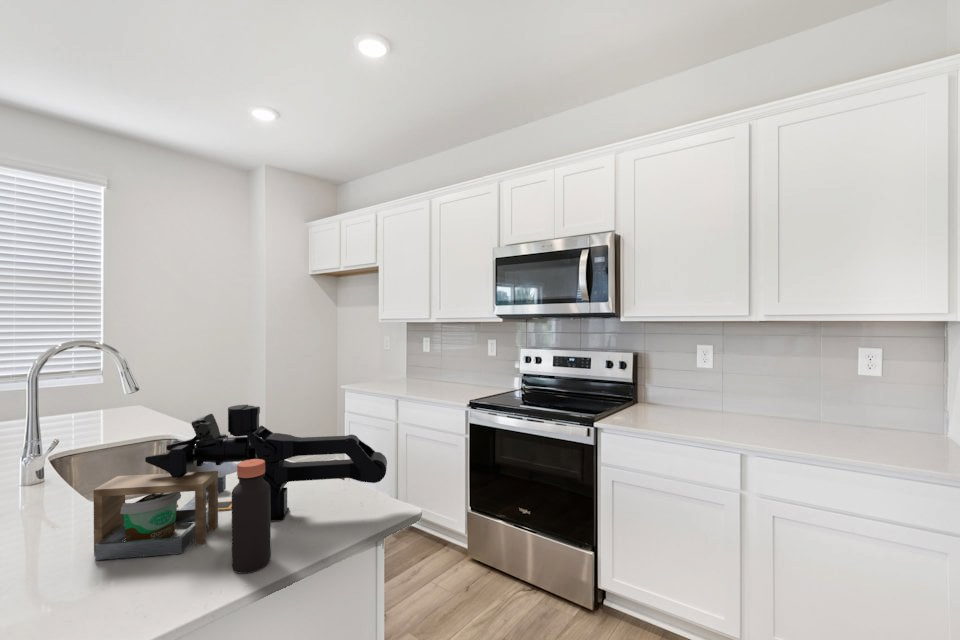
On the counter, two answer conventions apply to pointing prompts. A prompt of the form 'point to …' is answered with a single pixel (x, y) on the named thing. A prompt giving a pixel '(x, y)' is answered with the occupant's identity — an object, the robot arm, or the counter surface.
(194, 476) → the tunnel
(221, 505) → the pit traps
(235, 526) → the bottle
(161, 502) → the food container
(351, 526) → the counter surface
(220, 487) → the long grey tray
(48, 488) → the counter surface
